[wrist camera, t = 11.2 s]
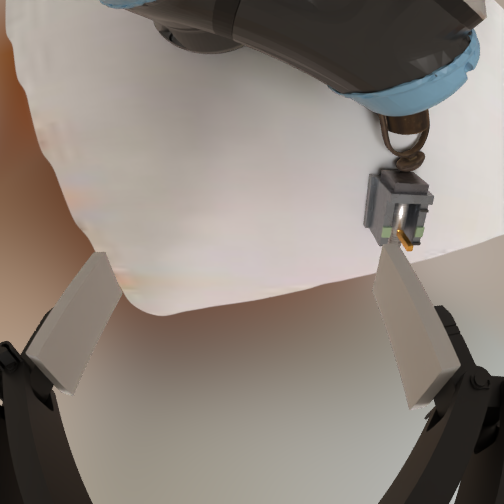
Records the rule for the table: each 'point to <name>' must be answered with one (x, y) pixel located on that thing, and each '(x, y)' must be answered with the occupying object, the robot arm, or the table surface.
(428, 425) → the robot arm
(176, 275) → the table surface
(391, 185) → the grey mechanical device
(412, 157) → the brown drum with yoke
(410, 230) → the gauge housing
